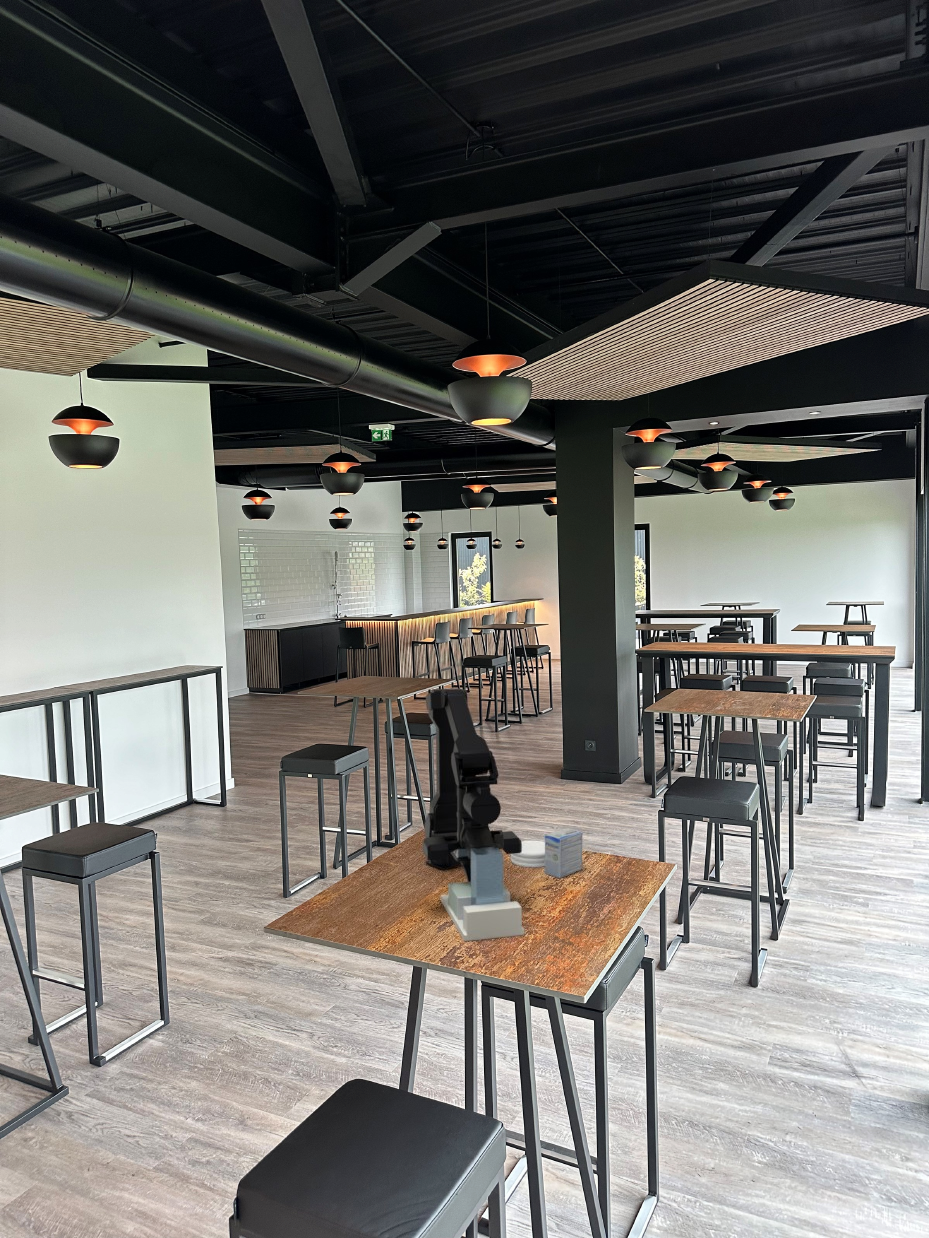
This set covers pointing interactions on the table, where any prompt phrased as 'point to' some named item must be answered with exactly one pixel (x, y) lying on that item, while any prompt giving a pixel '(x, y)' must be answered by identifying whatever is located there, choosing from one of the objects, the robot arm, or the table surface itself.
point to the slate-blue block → (486, 876)
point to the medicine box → (563, 852)
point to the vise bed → (487, 920)
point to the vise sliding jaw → (465, 897)
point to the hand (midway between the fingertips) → (472, 888)
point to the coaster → (530, 855)
